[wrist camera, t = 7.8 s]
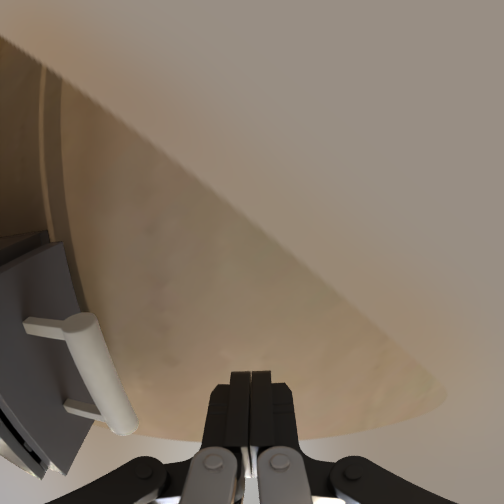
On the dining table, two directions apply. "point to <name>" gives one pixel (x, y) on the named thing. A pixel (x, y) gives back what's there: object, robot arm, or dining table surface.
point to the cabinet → (3, 439)
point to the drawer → (54, 361)
